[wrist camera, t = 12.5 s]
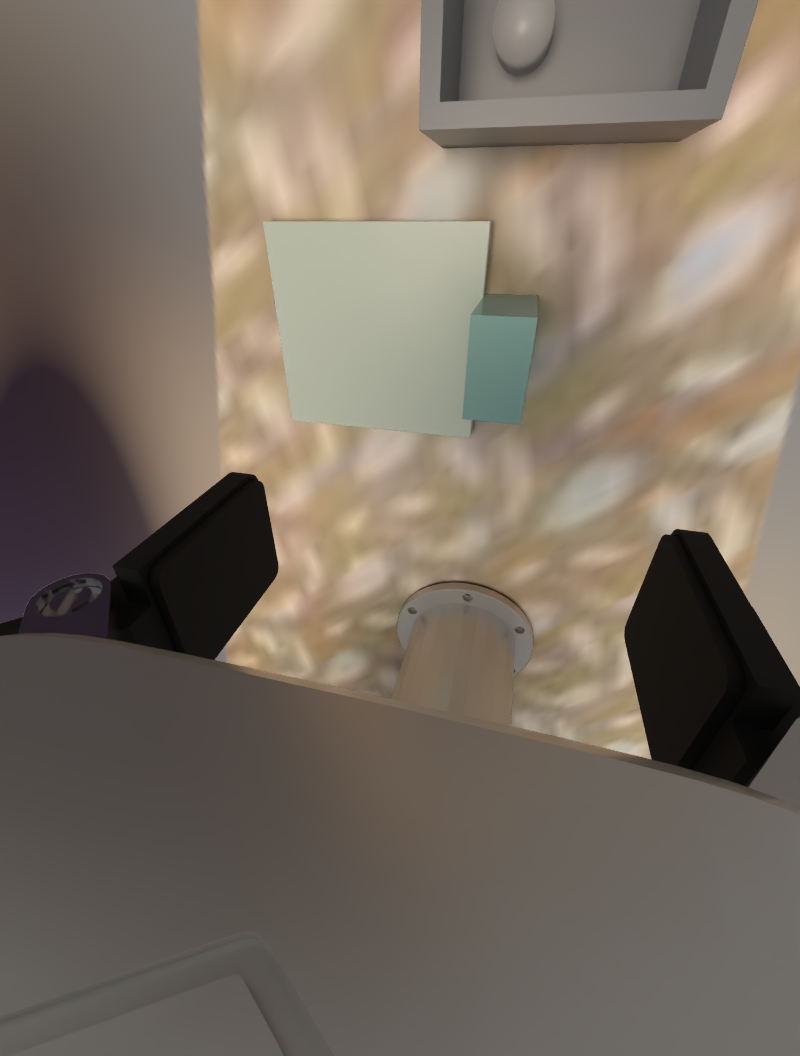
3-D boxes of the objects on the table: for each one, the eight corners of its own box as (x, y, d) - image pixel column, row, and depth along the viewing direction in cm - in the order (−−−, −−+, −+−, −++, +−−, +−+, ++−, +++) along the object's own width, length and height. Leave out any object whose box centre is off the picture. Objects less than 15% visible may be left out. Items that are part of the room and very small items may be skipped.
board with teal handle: (299, 414, 34) (251, 453, 28) (272, 221, 27) (203, 222, 21) (516, 435, 30) (510, 484, 25) (549, 221, 23) (553, 222, 18)
